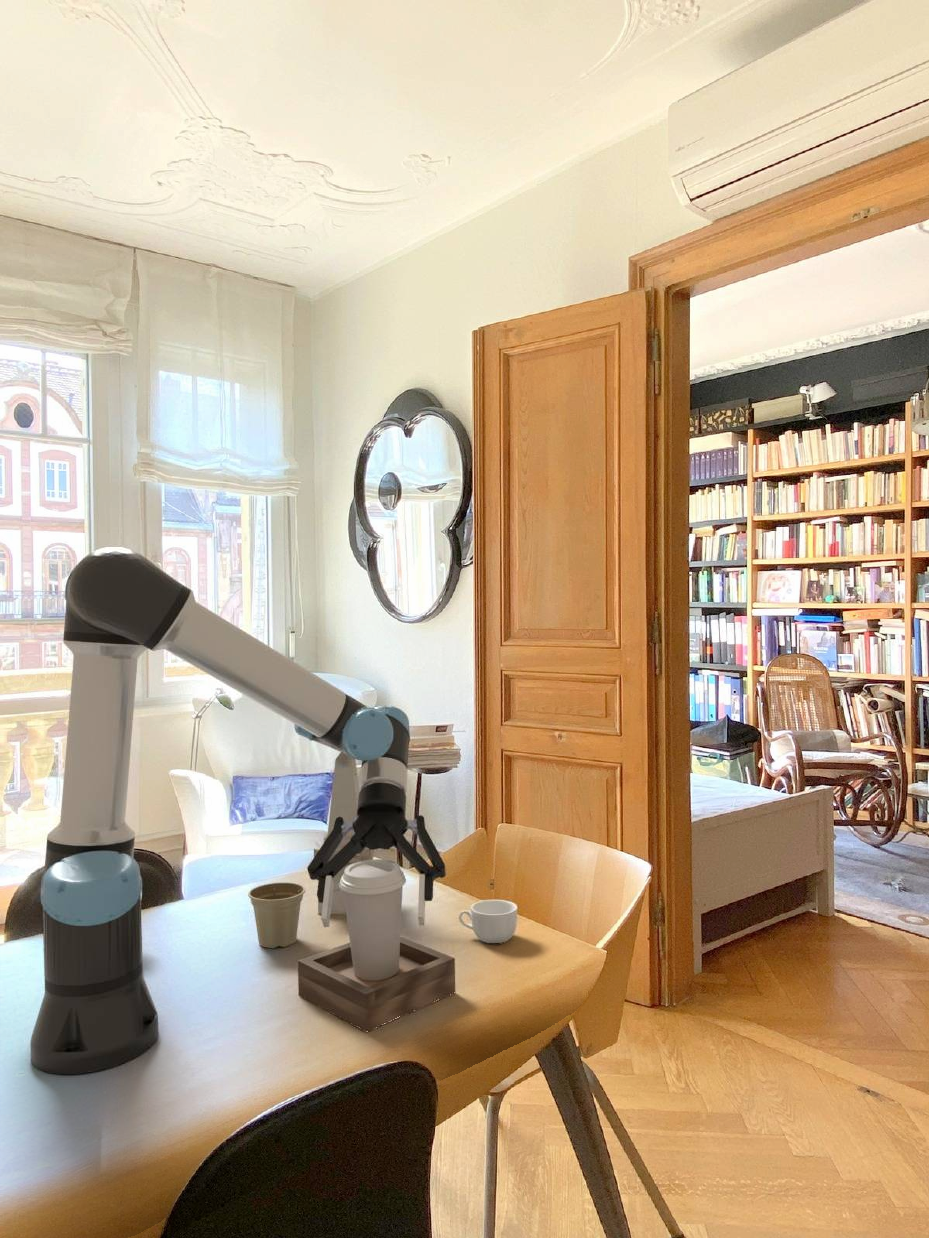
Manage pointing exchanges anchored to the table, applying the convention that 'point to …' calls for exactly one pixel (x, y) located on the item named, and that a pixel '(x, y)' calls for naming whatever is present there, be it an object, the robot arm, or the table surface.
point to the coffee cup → (374, 916)
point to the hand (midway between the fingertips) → (373, 922)
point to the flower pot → (277, 912)
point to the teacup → (492, 920)
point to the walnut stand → (376, 984)
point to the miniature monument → (345, 807)
